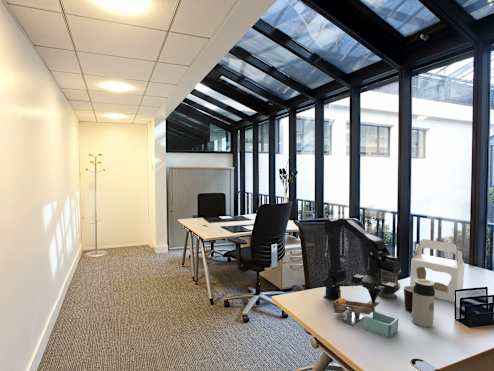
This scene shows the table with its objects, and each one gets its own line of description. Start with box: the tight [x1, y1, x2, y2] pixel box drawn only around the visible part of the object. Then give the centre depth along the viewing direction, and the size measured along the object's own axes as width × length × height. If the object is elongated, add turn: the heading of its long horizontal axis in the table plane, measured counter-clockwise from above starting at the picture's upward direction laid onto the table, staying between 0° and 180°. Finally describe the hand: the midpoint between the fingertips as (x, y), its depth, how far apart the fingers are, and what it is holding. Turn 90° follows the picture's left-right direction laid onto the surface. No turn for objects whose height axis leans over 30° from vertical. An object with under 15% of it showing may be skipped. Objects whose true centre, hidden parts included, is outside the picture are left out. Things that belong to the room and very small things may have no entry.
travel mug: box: [411, 279, 435, 328], centre depth 137 cm, size 8×8×18 cm
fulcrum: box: [341, 307, 365, 327], centre depth 139 cm, size 5×11×6 cm, turn 136°
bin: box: [364, 310, 399, 339], centre depth 130 cm, size 10×9×5 cm
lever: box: [332, 299, 380, 315], centre depth 142 cm, size 16×14×5 cm
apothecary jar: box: [378, 269, 402, 300], centre depth 167 cm, size 12×12×18 cm
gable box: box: [409, 238, 465, 303], centre depth 171 cm, size 22×13×28 cm, turn 45°
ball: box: [338, 296, 347, 304], centre depth 142 cm, size 4×4×4 cm
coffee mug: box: [403, 285, 414, 314], centre depth 150 cm, size 12×9×10 cm
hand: (373, 302), depth 143 cm, fingers closed, pressing on lever
